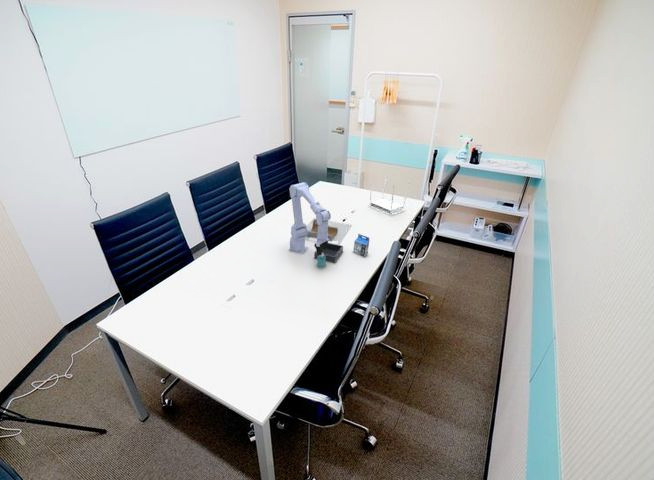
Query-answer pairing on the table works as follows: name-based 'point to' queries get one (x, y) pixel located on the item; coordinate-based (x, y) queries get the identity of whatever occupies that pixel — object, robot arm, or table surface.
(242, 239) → the table surface
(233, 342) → the table surface
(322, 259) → the bottle
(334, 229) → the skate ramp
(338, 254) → the bin
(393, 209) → the router
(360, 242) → the label tape box
